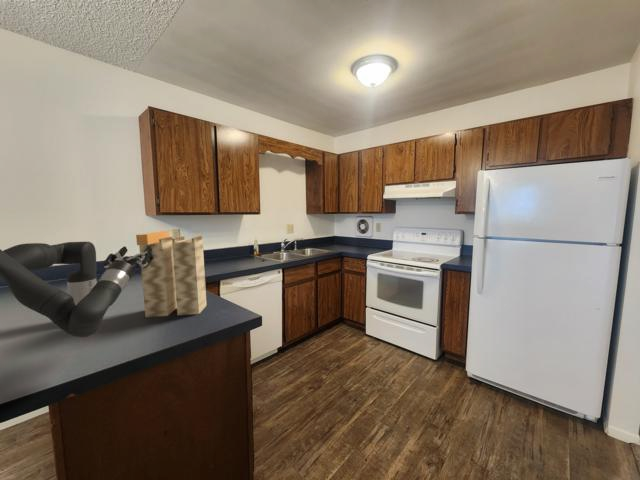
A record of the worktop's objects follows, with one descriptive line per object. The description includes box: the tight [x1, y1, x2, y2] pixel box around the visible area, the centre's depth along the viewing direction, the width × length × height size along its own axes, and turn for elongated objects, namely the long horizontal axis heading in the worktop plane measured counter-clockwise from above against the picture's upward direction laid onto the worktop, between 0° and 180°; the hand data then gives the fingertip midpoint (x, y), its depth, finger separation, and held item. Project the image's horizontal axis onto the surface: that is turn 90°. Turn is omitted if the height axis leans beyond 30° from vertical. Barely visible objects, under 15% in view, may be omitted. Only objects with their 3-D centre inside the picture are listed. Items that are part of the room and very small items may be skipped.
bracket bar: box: [135, 230, 171, 246], centre depth 114 cm, size 4×20×4 cm, turn 7°
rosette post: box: [138, 236, 177, 318], centre depth 118 cm, size 9×11×34 cm
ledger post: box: [172, 235, 207, 316], centre depth 119 cm, size 9×11×34 cm
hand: (138, 247), depth 100 cm, fingers open, 8 cm apart
